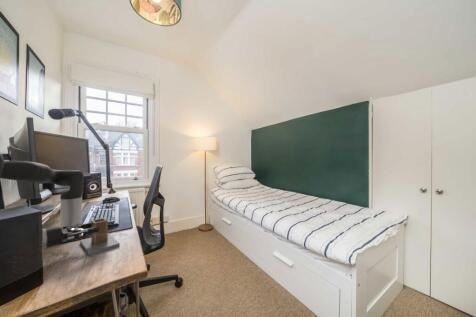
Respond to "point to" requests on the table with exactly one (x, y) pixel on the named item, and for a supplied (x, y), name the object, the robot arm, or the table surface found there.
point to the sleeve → (102, 233)
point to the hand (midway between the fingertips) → (95, 226)
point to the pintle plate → (99, 245)
